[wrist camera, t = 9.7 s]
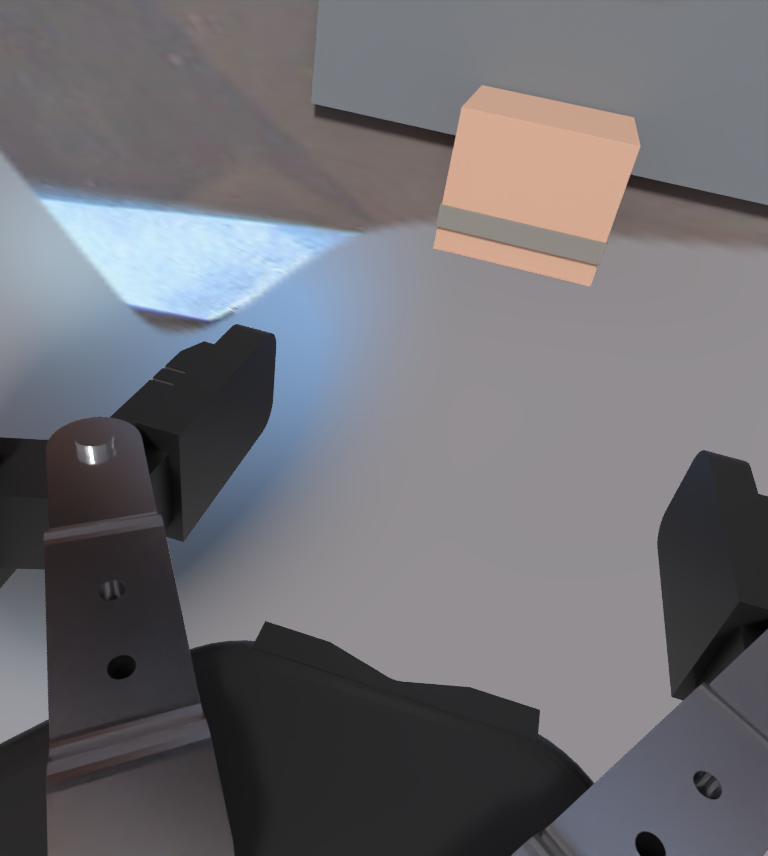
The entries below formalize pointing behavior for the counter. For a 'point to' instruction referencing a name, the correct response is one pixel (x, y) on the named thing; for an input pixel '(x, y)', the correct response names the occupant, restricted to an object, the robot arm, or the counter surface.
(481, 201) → the stub
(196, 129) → the counter surface
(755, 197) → the mat
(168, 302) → the counter surface
